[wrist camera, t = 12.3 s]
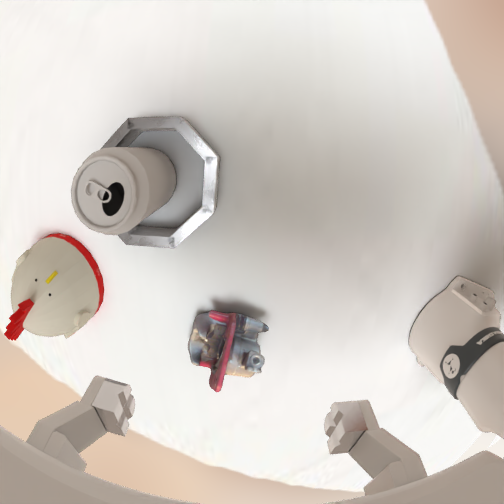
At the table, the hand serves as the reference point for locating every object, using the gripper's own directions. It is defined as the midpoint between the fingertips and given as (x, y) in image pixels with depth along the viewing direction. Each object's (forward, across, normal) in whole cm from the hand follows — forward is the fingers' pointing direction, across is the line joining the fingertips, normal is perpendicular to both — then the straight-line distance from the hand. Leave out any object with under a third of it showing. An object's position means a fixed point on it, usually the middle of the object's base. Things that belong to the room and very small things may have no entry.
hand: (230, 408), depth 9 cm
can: (+24, +12, -5) cm, 28 cm away
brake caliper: (+25, +1, +15) cm, 29 cm away
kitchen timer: (+24, +26, +9) cm, 36 cm away
